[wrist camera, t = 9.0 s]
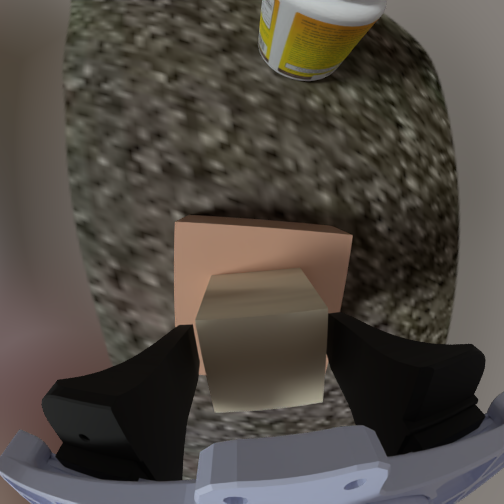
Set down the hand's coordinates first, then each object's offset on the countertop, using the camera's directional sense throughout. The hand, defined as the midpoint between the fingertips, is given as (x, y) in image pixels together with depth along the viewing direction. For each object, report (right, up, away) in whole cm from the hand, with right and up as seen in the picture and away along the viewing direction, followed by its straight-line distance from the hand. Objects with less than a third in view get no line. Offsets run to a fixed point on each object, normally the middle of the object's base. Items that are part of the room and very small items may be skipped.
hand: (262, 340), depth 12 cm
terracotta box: (0, +2, +7) cm, 7 cm away
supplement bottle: (+3, +17, +3) cm, 18 cm away
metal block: (0, +1, +3) cm, 3 cm away
